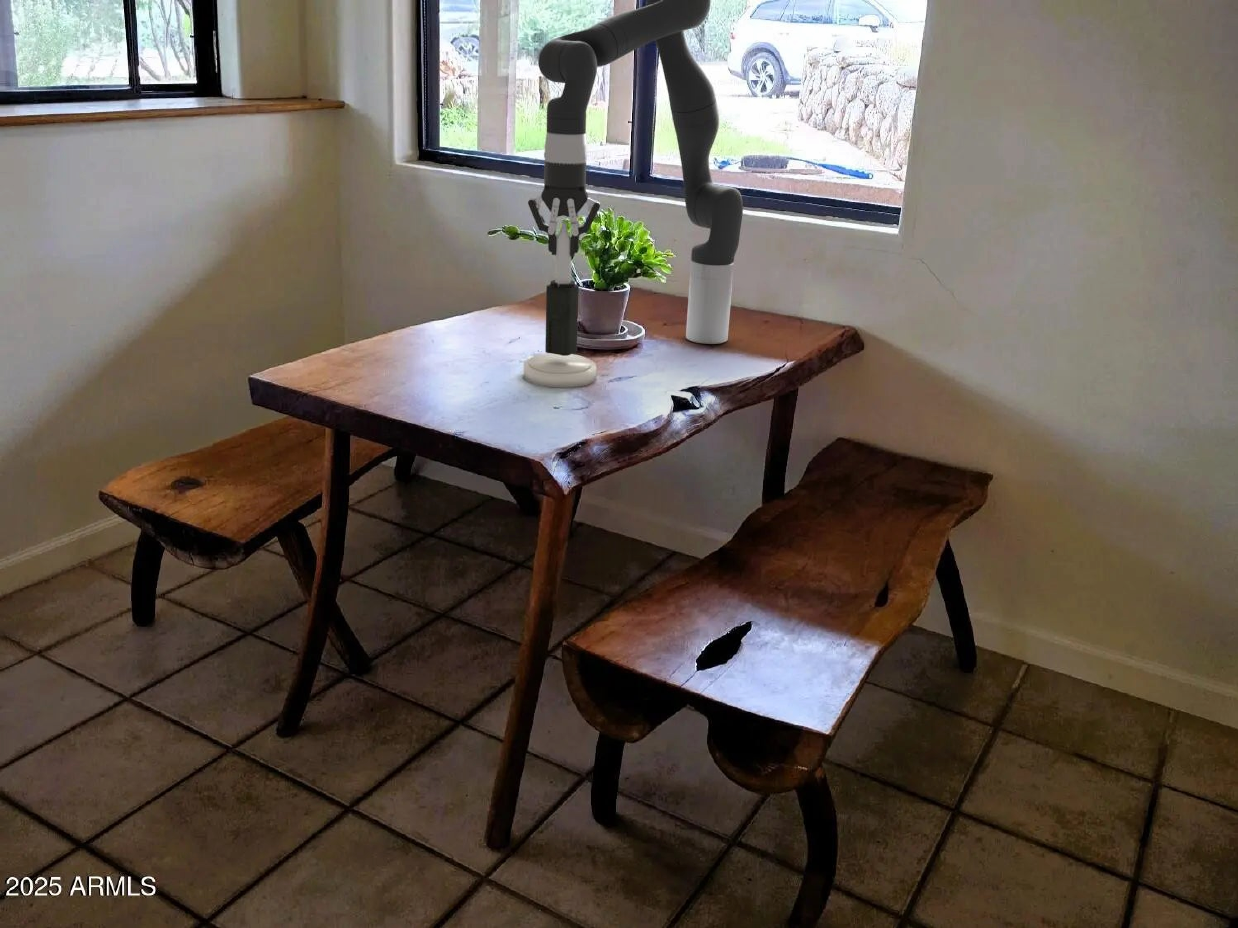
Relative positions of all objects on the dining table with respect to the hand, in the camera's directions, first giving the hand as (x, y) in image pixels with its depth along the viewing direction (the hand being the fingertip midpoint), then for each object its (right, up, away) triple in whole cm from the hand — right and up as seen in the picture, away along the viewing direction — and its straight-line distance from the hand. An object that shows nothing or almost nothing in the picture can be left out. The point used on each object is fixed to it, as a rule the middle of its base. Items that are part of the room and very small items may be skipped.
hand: (563, 254), depth 209 cm
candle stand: (-1, -22, +9) cm, 24 cm away
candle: (-1, -18, +7) cm, 19 cm away
